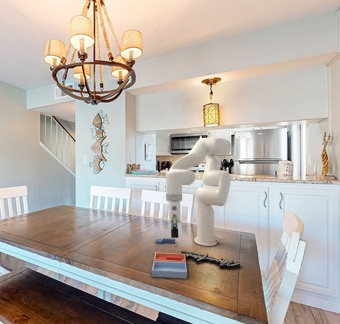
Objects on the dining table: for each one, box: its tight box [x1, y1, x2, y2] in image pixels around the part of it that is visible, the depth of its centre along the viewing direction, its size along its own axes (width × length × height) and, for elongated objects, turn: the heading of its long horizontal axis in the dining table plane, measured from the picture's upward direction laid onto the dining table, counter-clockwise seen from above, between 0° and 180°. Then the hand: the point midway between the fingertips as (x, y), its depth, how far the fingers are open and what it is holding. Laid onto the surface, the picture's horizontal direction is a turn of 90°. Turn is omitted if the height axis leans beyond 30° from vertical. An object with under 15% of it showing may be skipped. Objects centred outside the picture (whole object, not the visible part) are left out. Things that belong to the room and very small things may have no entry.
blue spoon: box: [155, 237, 176, 245], centre depth 120 cm, size 11×4×2 cm, turn 85°
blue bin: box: [151, 260, 188, 280], centre depth 88 cm, size 14×8×3 cm, turn 85°
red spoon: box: [158, 256, 182, 261], centre depth 97 cm, size 11×4×2 cm, turn 85°
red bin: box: [153, 252, 187, 263], centre depth 97 cm, size 14×8×3 cm, turn 85°
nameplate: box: [180, 250, 241, 270], centre depth 98 cm, size 27×2×10 cm
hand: (174, 233), depth 98 cm, fingers open, 9 cm apart
